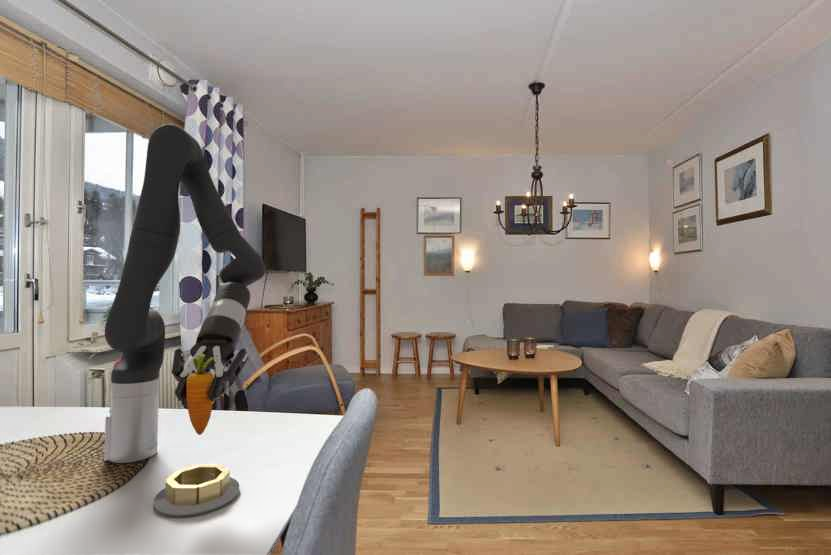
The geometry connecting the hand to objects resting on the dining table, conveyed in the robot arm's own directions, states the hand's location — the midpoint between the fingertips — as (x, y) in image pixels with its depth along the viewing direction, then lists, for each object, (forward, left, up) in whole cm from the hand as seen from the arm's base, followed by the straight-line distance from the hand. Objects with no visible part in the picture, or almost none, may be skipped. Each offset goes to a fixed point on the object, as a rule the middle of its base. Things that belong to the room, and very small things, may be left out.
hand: (196, 398), depth 78 cm
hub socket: (0, +2, -19) cm, 19 cm away
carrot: (0, +2, -7) cm, 8 cm away
